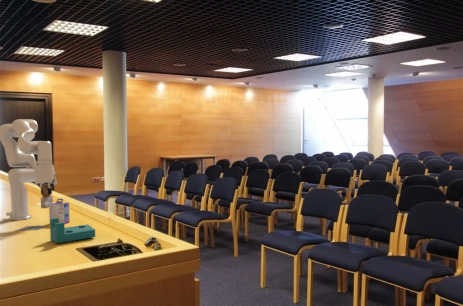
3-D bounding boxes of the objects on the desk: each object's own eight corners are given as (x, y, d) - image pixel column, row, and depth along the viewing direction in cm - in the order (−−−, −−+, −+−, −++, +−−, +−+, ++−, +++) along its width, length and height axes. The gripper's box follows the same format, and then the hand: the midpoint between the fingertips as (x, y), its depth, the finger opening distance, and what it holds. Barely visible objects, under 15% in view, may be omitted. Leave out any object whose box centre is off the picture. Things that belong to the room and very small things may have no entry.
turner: (41, 208, 245) (40, 185, 244) (47, 206, 253) (46, 183, 252) (46, 208, 245) (45, 185, 244) (52, 205, 253) (51, 183, 252)
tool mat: (15, 231, 232) (15, 230, 232) (27, 226, 244) (27, 225, 244) (37, 231, 231) (37, 230, 231) (48, 226, 243) (48, 225, 243)
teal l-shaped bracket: (56, 246, 200) (56, 224, 199) (50, 240, 208) (50, 218, 207) (95, 239, 211) (95, 218, 209) (87, 234, 219) (87, 213, 218)
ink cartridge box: (70, 223, 250) (69, 198, 250) (64, 225, 245) (63, 200, 244) (55, 223, 252) (53, 198, 252) (49, 225, 247) (48, 200, 246)
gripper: (27, 163, 245) (29, 196, 245) (55, 162, 244) (57, 195, 244) (34, 162, 252) (36, 194, 253) (61, 162, 251) (63, 193, 252)
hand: (46, 194), depth 248 cm, fingers closed on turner, 3 cm apart
